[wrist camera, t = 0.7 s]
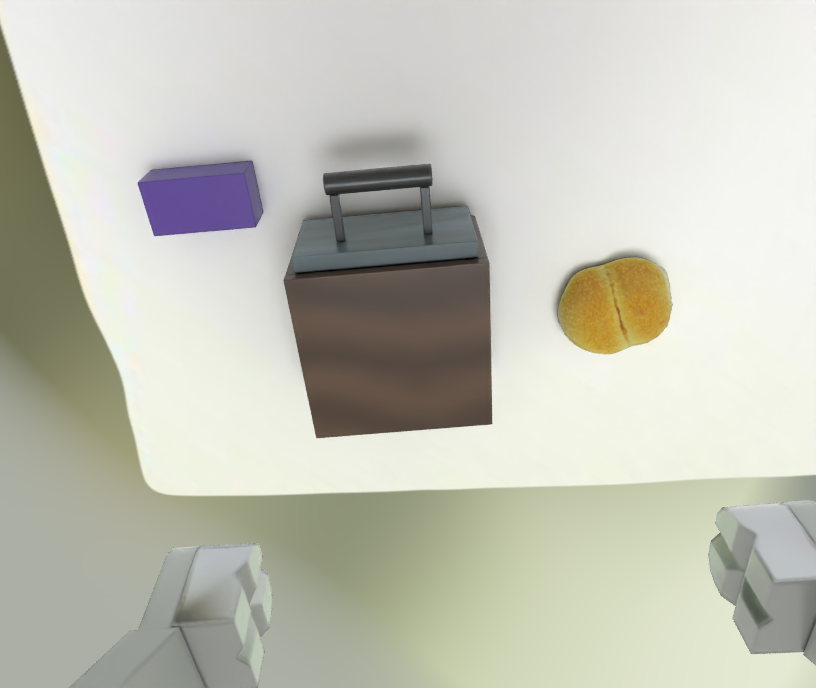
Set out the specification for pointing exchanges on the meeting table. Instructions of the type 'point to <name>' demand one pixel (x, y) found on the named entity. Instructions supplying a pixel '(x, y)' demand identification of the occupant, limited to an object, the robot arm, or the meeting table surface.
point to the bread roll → (616, 305)
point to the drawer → (383, 227)
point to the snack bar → (201, 198)
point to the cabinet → (395, 345)
